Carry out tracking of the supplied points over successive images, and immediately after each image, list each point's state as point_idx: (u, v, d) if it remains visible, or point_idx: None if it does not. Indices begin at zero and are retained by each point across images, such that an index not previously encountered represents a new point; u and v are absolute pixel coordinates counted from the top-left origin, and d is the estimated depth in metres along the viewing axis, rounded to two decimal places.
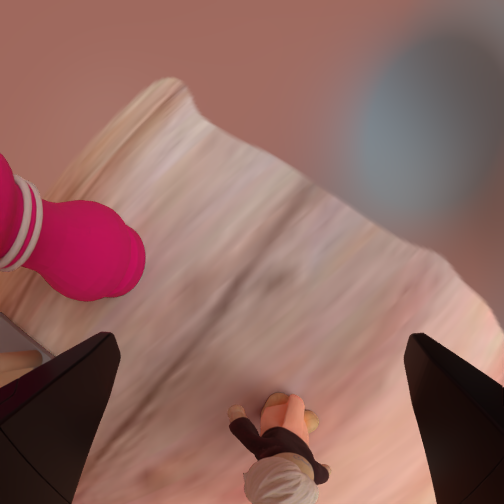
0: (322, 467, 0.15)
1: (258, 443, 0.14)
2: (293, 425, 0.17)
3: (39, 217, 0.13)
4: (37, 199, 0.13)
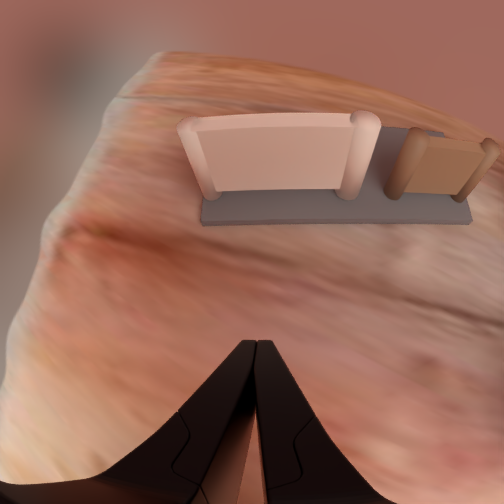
0: None
1: None
2: None
3: None
4: None
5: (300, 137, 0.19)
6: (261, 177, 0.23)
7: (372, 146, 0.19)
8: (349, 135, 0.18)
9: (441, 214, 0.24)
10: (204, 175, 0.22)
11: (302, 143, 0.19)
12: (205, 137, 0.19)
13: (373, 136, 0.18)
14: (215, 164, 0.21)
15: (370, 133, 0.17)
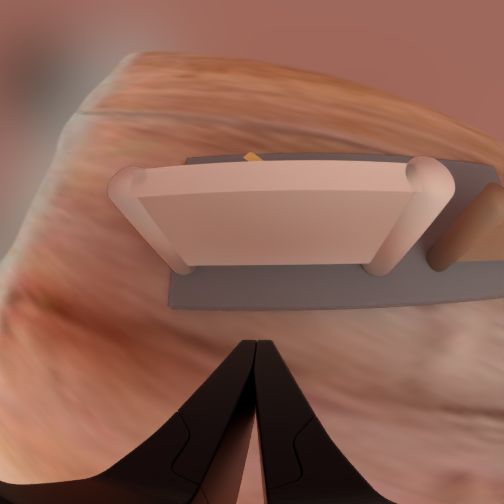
0: None
1: None
2: None
3: None
4: None
5: (319, 205, 0.11)
6: (253, 252, 0.15)
7: None
8: (403, 202, 0.10)
9: (495, 287, 0.16)
10: (165, 250, 0.15)
11: (321, 214, 0.11)
12: (154, 205, 0.11)
13: (442, 206, 0.10)
14: (179, 238, 0.14)
15: (440, 203, 0.10)
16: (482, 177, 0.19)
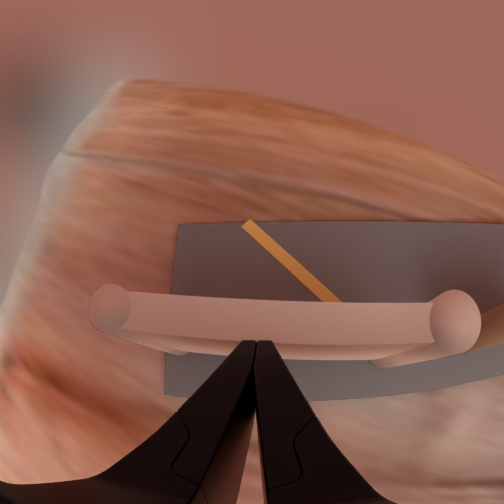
0: None
1: None
2: None
3: None
4: None
5: (325, 348, 0.09)
6: None
7: None
8: (420, 345, 0.09)
9: (502, 366, 0.14)
10: (158, 348, 0.13)
11: (327, 350, 0.10)
12: (141, 333, 0.10)
13: None
14: (171, 344, 0.12)
15: None
16: (500, 241, 0.17)
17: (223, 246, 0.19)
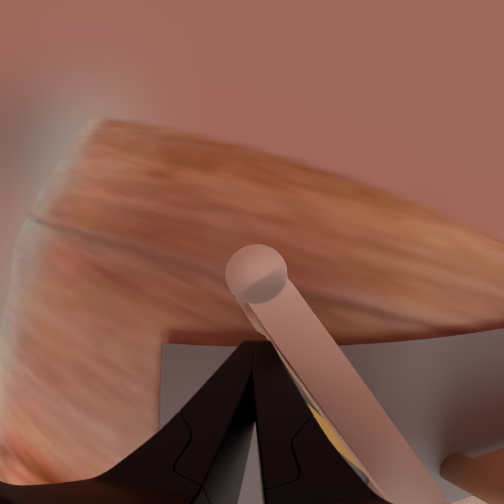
0: None
1: None
2: None
3: None
4: None
5: (372, 478, 0.07)
6: (310, 399, 0.12)
7: None
8: None
9: None
10: (250, 321, 0.12)
11: (369, 475, 0.07)
12: (260, 322, 0.09)
13: None
14: (266, 335, 0.11)
15: None
16: None
17: None
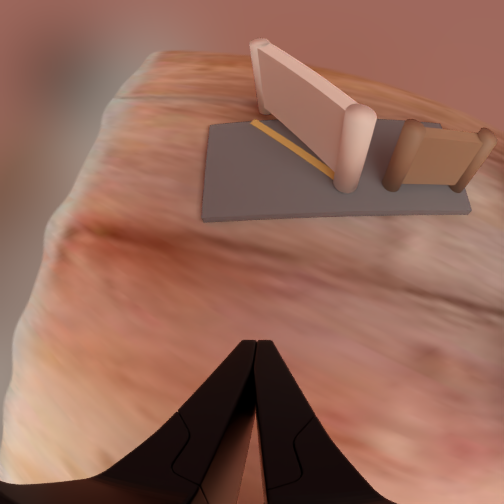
0: None
1: None
2: None
3: None
4: None
5: (310, 94, 0.20)
6: (288, 115, 0.25)
7: (355, 140, 0.19)
8: (341, 116, 0.19)
9: (440, 205, 0.24)
10: (257, 86, 0.25)
11: (311, 101, 0.20)
12: (261, 56, 0.22)
13: (355, 128, 0.18)
14: (264, 82, 0.24)
15: (351, 122, 0.18)
16: None
17: (239, 133, 0.28)
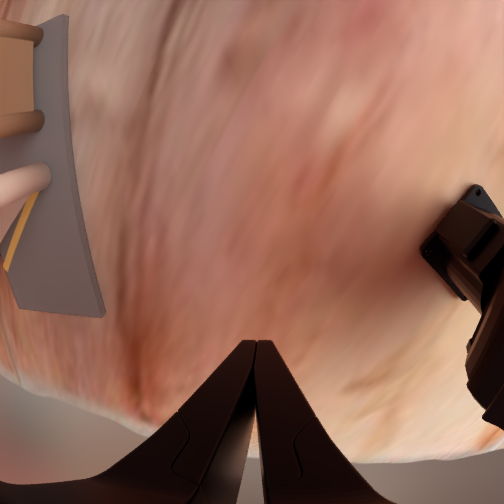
0: None
1: None
2: None
3: None
4: None
5: None
6: None
7: None
8: None
9: (55, 56, 0.16)
10: None
11: None
12: None
13: None
14: None
15: None
16: None
17: (19, 282, 0.23)
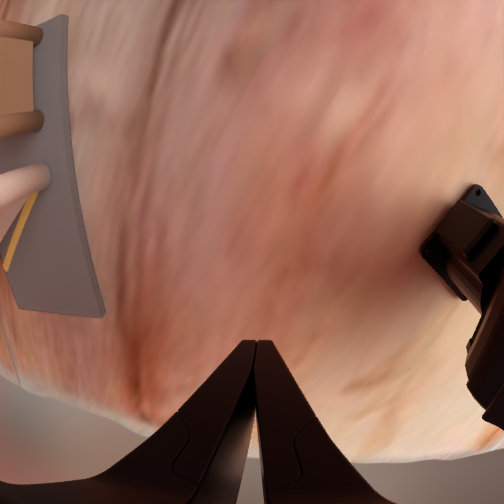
0: None
1: None
2: None
3: None
4: None
5: None
6: None
7: None
8: None
9: (55, 56, 0.16)
10: None
11: None
12: None
13: None
14: None
15: None
16: None
17: (19, 282, 0.23)
